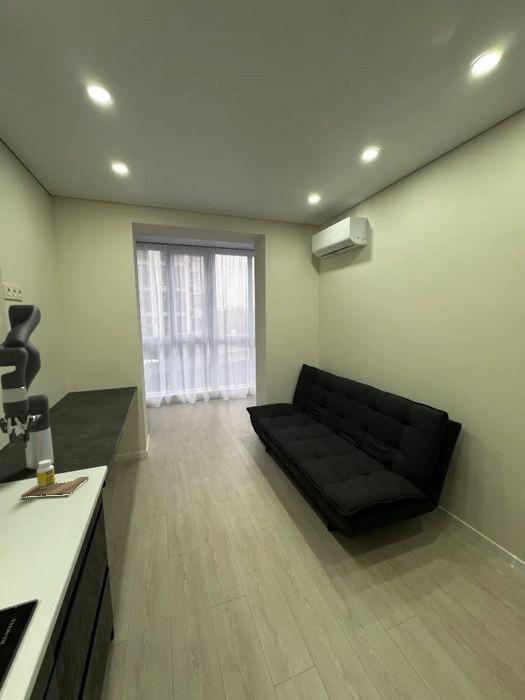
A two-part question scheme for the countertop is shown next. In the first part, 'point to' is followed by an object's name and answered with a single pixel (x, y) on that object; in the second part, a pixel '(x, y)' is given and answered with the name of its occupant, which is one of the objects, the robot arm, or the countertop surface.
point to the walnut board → (55, 488)
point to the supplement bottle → (45, 474)
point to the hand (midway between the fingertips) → (19, 442)
